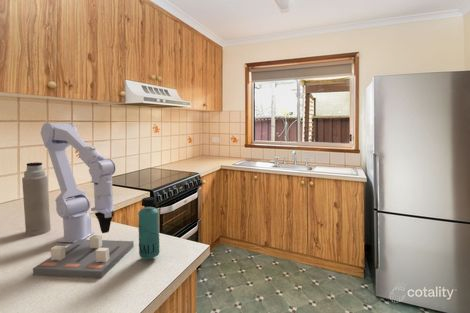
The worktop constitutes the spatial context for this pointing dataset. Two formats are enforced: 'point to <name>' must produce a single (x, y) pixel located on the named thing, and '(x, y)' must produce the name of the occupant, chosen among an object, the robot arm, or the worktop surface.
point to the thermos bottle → (36, 200)
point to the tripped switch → (95, 241)
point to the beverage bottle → (148, 229)
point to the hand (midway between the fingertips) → (105, 232)
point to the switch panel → (83, 259)
